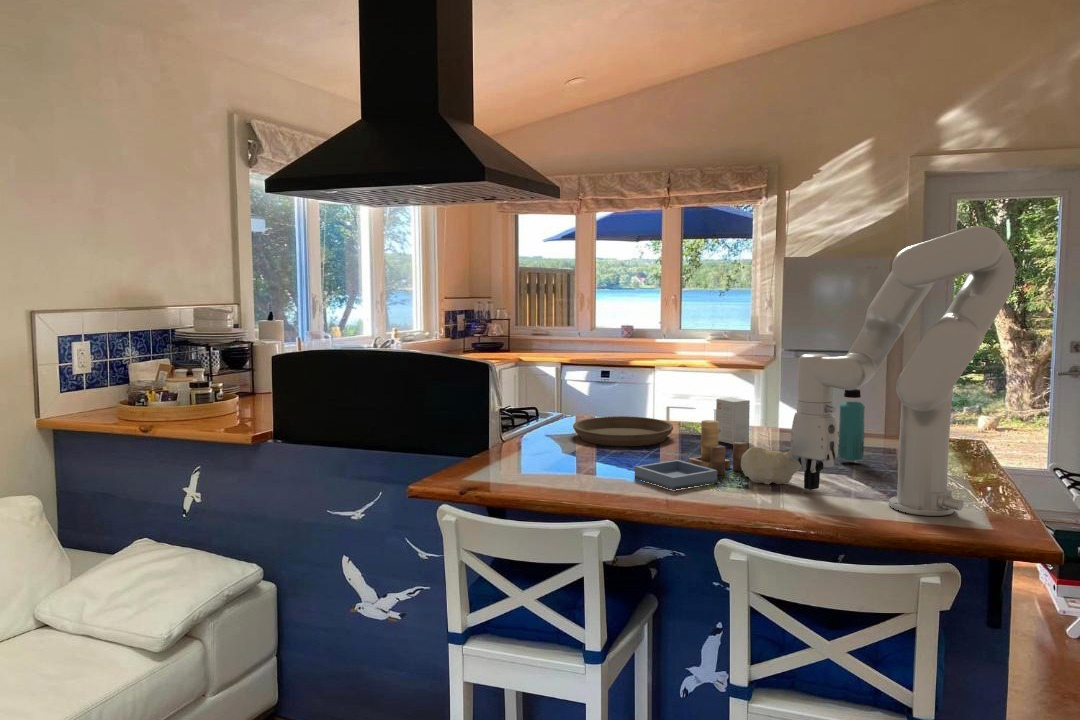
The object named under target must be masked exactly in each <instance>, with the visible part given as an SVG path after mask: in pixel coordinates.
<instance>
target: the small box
mask: <svg viewBox="0 0 1080 720" xmlns="http://www.w3.org/2000/svg"><path fill="white" fill-rule="evenodd" d="M715 400H716V402H715V403H716V404H715V405H716V407H715V408H716V410H715V412H716V413H715V415H716V416H715V421H718V422H719V436H718V442H722V443H726V444H731V445H733V443H734V442H745V443H748V444H749V443H750V406H751V404H750V402H751V401H750V400H749V399H742V398H737V397H723V398H722V397H721V398H716V399H715Z"/></svg>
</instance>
